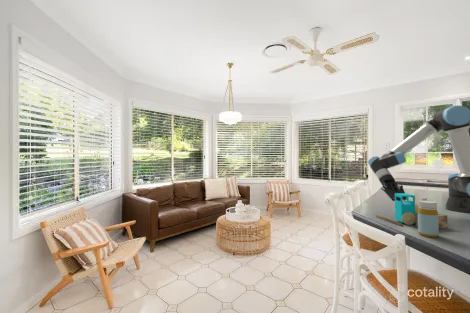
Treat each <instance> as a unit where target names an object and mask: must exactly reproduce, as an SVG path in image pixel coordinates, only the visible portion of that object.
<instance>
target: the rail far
mask: <svg viewBox="0 0 470 313" xmlns="http://www.w3.org/2000/svg"><path fill="white" fill-rule="evenodd" d="M377 217H378V218H377ZM375 218H377V219H380V220H383V221H386V222H388V223H391V224H394V225H396V226H399V227H404V223H402V222H400V221H397V220H393V219H391V218H390V219H389V218H387V217H384V216H382V215H379V214H376V215H375Z"/></svg>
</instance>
